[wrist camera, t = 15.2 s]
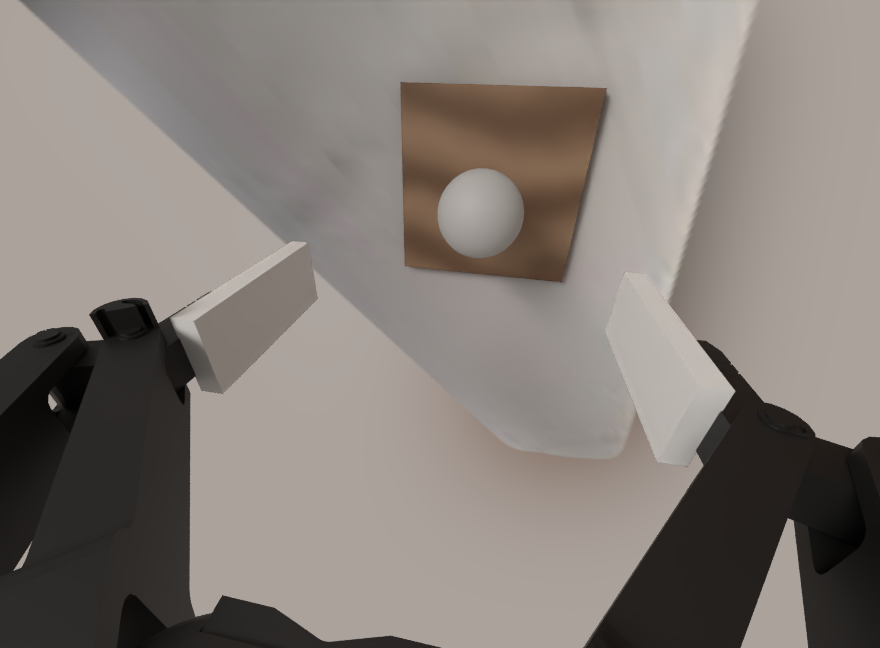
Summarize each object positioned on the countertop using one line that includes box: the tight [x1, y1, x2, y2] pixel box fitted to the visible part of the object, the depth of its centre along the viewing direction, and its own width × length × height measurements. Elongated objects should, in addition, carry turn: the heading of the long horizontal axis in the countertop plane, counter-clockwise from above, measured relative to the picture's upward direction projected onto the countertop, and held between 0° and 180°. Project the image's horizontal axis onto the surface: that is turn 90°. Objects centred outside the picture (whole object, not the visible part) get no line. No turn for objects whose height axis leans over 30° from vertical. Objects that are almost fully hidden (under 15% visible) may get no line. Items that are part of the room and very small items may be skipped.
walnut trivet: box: [401, 82, 607, 282], centre depth 33 cm, size 16×16×1 cm
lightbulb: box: [438, 168, 524, 258], centre depth 27 cm, size 6×6×11 cm
